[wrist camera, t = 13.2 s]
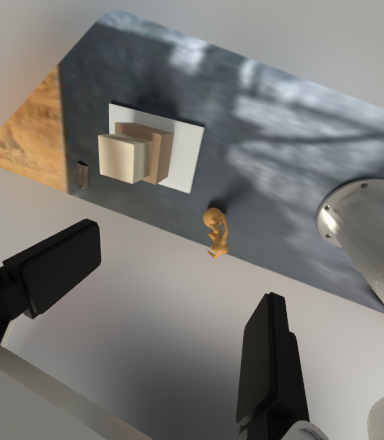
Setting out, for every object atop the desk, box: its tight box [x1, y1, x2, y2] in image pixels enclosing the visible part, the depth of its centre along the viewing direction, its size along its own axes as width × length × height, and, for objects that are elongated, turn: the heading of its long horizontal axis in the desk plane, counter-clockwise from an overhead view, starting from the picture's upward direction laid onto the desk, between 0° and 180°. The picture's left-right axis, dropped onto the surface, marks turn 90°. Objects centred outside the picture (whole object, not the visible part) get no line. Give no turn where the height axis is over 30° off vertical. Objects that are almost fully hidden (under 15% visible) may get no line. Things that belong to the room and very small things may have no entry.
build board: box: [109, 104, 205, 193], centre depth 33 cm, size 18×12×6 cm, turn 78°
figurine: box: [203, 208, 229, 259], centre depth 33 cm, size 8×6×12 cm
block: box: [76, 162, 89, 188], centre depth 43 cm, size 4×6×2 cm, turn 163°
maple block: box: [98, 133, 153, 184], centre depth 28 cm, size 5×5×5 cm
